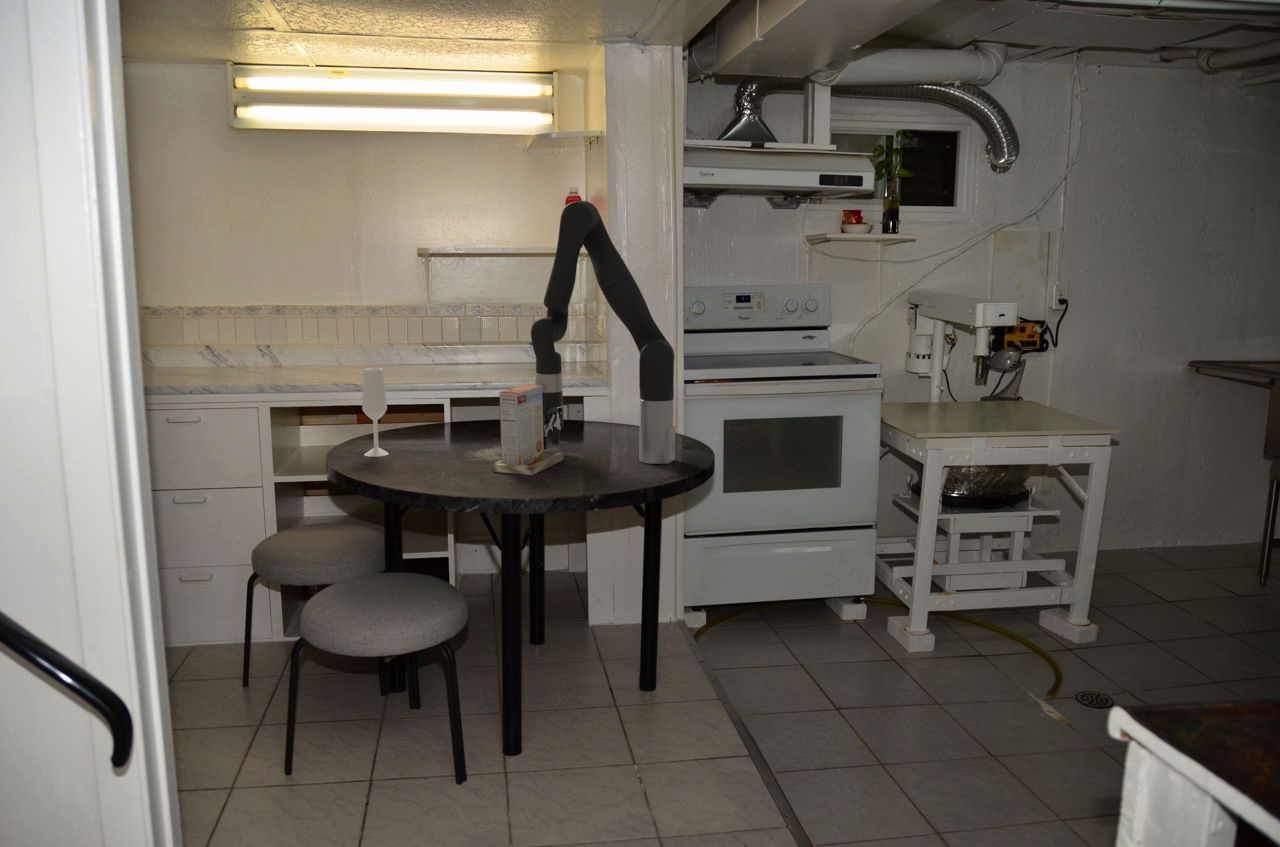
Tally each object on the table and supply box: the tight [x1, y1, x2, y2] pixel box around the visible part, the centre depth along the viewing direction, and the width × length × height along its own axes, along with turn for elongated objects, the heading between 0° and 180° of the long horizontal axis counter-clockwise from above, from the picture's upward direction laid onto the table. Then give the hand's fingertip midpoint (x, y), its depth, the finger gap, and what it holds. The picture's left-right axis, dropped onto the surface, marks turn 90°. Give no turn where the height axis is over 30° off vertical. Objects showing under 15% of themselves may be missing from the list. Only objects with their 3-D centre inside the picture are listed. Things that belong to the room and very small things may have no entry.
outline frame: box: [491, 452, 564, 476], centre depth 263 cm, size 11×20×2 cm, turn 161°
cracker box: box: [499, 384, 545, 466], centre depth 262 cm, size 14×6×21 cm, turn 159°
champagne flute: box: [361, 367, 389, 457], centre depth 274 cm, size 7×7×24 cm
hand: (549, 446), depth 275 cm, fingers open, 8 cm apart
